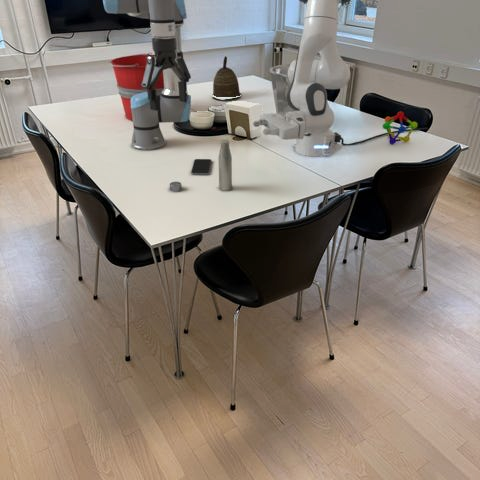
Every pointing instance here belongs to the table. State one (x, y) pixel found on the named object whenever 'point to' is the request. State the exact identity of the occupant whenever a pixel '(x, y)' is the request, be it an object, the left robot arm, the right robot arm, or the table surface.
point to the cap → (175, 186)
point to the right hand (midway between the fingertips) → (258, 127)
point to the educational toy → (398, 128)
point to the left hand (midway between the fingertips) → (169, 105)
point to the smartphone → (201, 166)
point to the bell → (225, 82)
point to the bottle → (225, 167)
